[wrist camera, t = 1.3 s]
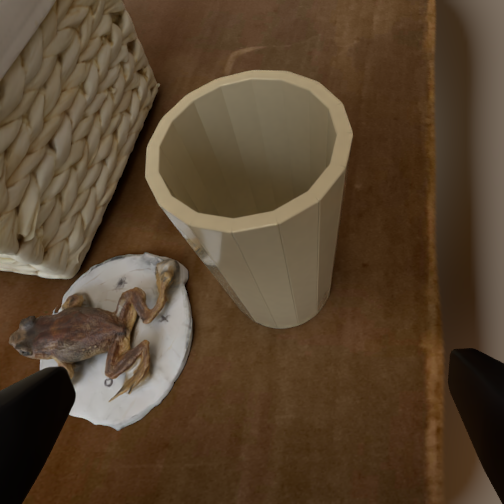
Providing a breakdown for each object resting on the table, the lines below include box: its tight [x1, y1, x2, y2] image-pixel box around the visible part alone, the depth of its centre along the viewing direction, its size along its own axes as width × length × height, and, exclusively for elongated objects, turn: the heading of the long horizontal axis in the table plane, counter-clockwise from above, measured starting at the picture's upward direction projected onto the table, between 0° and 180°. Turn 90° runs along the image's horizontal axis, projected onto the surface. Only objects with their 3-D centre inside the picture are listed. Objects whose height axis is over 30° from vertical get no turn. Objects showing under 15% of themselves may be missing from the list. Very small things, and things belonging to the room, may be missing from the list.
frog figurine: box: [9, 252, 193, 431], centre depth 21 cm, size 12×12×4 cm
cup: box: [145, 70, 353, 329], centre depth 16 cm, size 7×7×13 cm
